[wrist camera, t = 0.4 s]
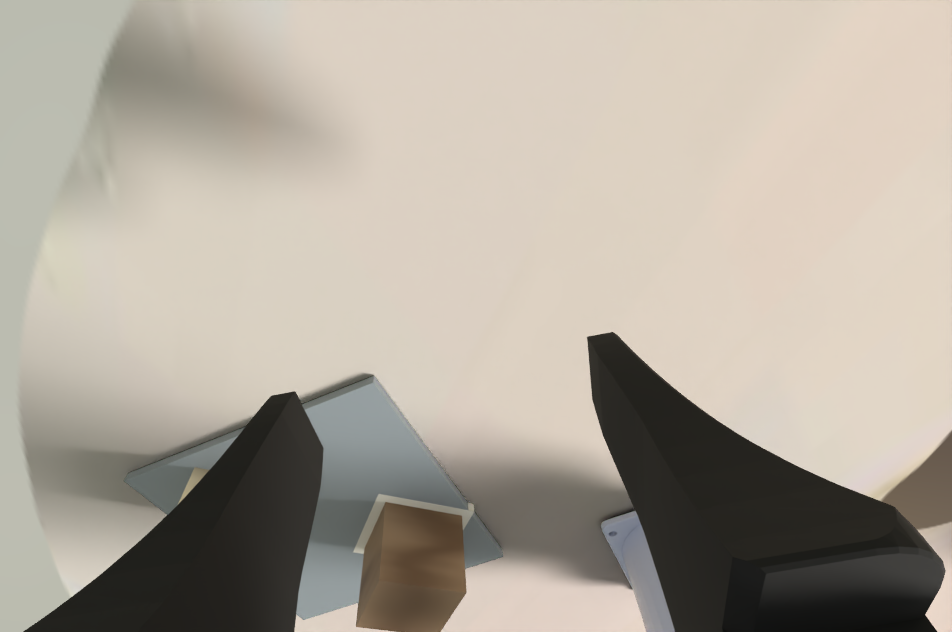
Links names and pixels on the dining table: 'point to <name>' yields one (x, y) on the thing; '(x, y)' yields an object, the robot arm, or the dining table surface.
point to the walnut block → (412, 570)
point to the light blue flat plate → (344, 489)
